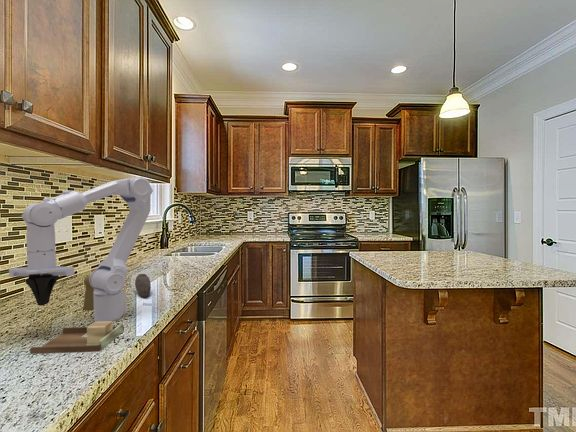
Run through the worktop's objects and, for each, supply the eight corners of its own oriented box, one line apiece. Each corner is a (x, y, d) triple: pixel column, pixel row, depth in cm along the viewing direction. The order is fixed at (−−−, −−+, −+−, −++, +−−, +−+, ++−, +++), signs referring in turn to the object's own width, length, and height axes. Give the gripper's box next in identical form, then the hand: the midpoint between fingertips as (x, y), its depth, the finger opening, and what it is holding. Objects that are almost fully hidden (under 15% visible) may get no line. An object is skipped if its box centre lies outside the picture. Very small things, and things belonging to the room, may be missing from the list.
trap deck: (64, 338, 83) (64, 324, 83) (124, 336, 84) (123, 323, 84) (30, 360, 72) (29, 344, 71) (100, 357, 72) (99, 342, 72)
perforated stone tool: (152, 298, 119) (152, 279, 119) (137, 300, 117) (136, 281, 117) (149, 289, 132) (148, 272, 132) (134, 290, 130) (134, 273, 130)
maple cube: (96, 337, 80) (96, 321, 80) (113, 337, 80) (112, 321, 80) (87, 344, 76) (86, 327, 76) (104, 344, 76) (104, 327, 76)
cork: (107, 304, 112) (106, 273, 111) (97, 310, 106) (97, 277, 105) (89, 304, 111) (89, 273, 111) (79, 310, 105) (78, 277, 105)
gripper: (-3, 253, 77) (-1, 310, 77) (61, 252, 77) (63, 308, 78) (20, 249, 84) (22, 301, 84) (78, 248, 84) (80, 299, 85)
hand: (43, 304), depth 81 cm, fingers closed
